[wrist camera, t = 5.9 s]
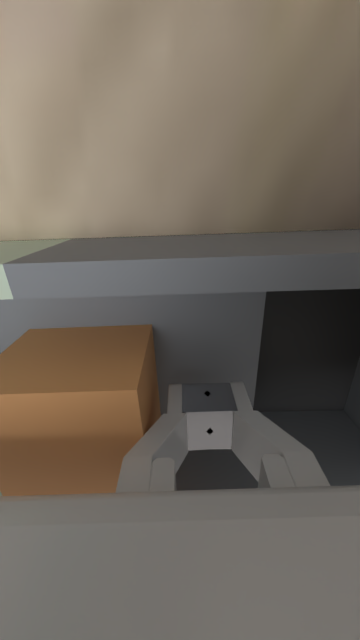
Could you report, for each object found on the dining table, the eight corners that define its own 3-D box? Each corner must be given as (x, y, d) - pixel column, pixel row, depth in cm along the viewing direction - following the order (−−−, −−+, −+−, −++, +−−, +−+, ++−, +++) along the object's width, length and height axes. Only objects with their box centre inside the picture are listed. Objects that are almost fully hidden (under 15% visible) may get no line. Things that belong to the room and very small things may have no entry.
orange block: (151, 324, 10) (136, 389, 7) (161, 417, 13) (153, 505, 9) (29, 329, 11) (-50, 396, 7) (58, 420, 13) (9, 509, 9)
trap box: (414, 227, 11) (571, 245, 7) (352, 417, 16) (421, 503, 11) (-304, 251, 12) (-610, 283, 7) (-162, 429, 16) (-294, 518, 12)
